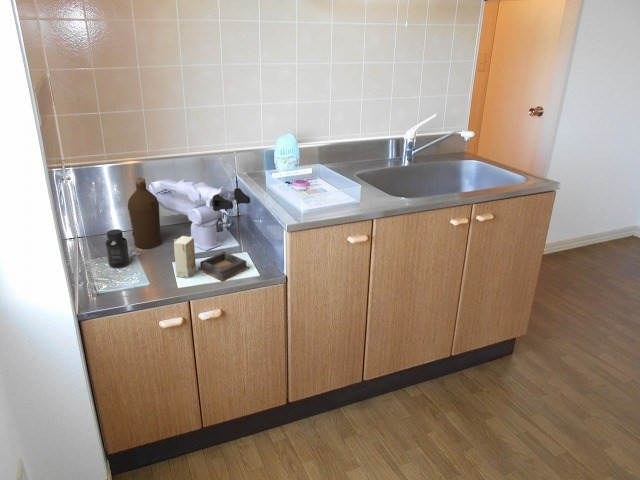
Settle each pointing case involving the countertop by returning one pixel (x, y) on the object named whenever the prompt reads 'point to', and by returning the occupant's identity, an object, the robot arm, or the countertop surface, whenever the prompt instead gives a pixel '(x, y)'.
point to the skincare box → (184, 256)
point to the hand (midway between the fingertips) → (240, 202)
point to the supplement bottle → (117, 249)
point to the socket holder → (223, 266)
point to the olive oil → (144, 217)
